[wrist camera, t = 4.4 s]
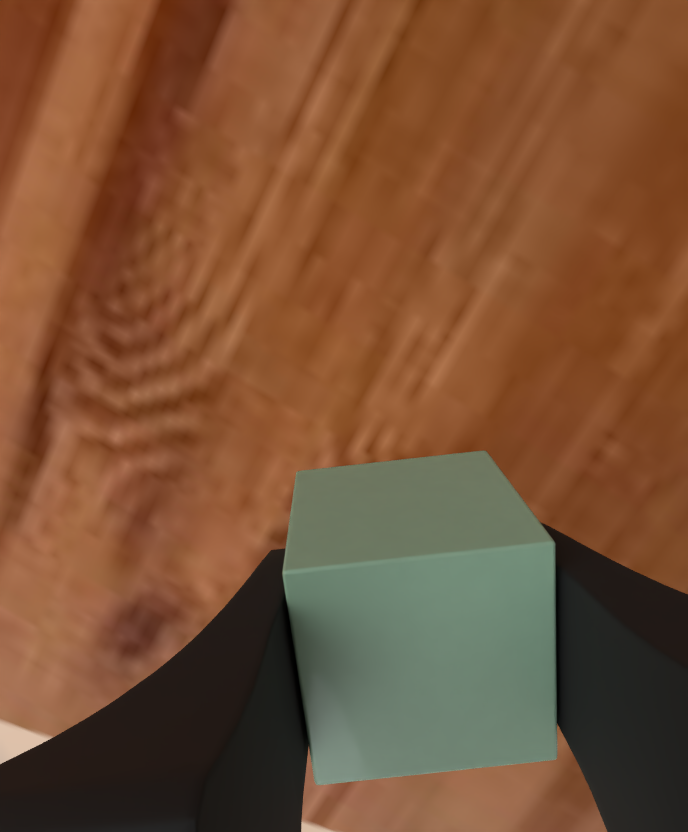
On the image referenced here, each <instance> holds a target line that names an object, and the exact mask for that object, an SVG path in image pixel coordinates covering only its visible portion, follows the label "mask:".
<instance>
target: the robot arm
mask: <svg viewBox="0 0 688 832" xmlns="http://www.w3.org/2000/svg"><path fill="white" fill-rule="evenodd" d="M541 524H542V526H543V527H544V528H545V530H546V531H547V532H548V534H549V535H550V536H551V538H552V539H553V540H554V542H555V557H556V670H557V724H558V726H559V727H560V729H561V731H562V733H563V735H564V737H565V739H566V741H567V743H568V745H569V747H570V749H571V751H572V752H573V754H574V756H575V758H576V760H577V762H578V764H579V766H580V768H581V770H582V772H583V775H584V777H585V779H586V781H587V783H588V785H589V787H590V790H591V792H592V794H593V797H594V799H595V802H596V804H597V807H598V809H599V812H600V814H601V817H602V819H603V822H604V824H605V827H606V829H607V832H688V595H687V594H685V593H682V592H680V591H677V590H675V589H673V588H670V587H668V586H665V585H663V584H661V583H659V582H657V581H655V580H652V579H650V578H648V577H646V576H644V575H641V574H639V573H637V572H635V571H633V570H631V569H629V568H627V567H625V566H623V565H621V564H619V563H617V562H615V561H613V560H611V559H609V558H607V557H605V556H603V555H601V554H599V553H597V552H595V551H594V550H592V549H590V548H588V547H586V546H584V545H582V544H581V543H579V542H577V541H575V540H573V539H572V538H570V537H568V536H566V535H564V534H562V533H560V532H559V531H557V530H555V529H553V528H551V527H549V526H547V525H545V524H543V523H541ZM285 550H286V549H278V550H271V551H270V552H269V553H268V555H267V556H266V557H265V558H264V559H263V560H262V562H261V563H260V564H259V566H258V567H257V568H256V569H255V571H254V572H253V573H252V575H251V576H250V577H249V578H248V580H247V581H246V582H245V583H244V585H243V586H242V587H241V588H240V589H239V591H238V592H237V593H236V594H235V595H234V597H233V598H232V599H231V600H230V601H229V602H228V604H227V605H226V606H225V607H224V608H223V609H222V610H221V611H220V612H219V613H218V615H217V616H216V617H215V618H214V619H213V620H212V621H211V622H210V623H209V624H208V625H207V626H206V627H205V628H204V629H203V630H202V631H201V632H200V633H199V634H198V635H197V636H196V637H195V638H194V639H193V640H192V641H191V642H190V643H189V644H188V645H186V646H185V647H184V648H183V649H182V650H181V651H180V652H178V653H177V654H176V655H175V656H174V657H172V658H171V659H170V660H169V661H168V662H167V663H165V664H164V665H163V666H162V667H160V668H159V669H158V670H157V671H155V672H154V673H153V674H151V675H150V676H148V677H147V678H146V679H144V680H143V681H141V682H140V683H139V684H137V685H136V686H134V687H133V688H132V689H130V690H129V691H127V692H126V693H125V694H123V695H122V696H120V697H119V698H118V699H116V700H115V701H113V702H112V703H110V704H109V705H107V706H106V707H104V708H102V709H101V710H99V711H98V712H96V713H94V714H93V715H91V716H90V717H88V718H86V719H85V720H83V721H81V722H80V723H78V724H76V725H74V726H73V727H71V728H69V729H67V730H66V731H64V732H62V733H61V734H59V735H57V736H55V737H53V738H51V739H50V740H48V741H46V742H44V743H42V744H40V745H38V746H36V747H34V748H32V749H30V750H28V751H26V752H24V753H22V754H20V755H18V756H16V757H14V758H12V759H10V760H8V761H6V762H4V763H2V764H0V832H301V819H302V804H303V791H304V782H305V773H306V764H307V755H308V746H309V743H308V736H307V730H306V723H305V717H304V711H303V704H302V698H301V691H300V685H299V678H298V672H297V666H296V659H295V653H294V646H293V640H292V633H291V627H290V621H289V614H288V608H287V601H286V595H285V588H284V582H283V576H282V572H283V564H284V557H285Z"/></svg>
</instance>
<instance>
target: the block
mask: <svg viewBox="0 0 688 832" xmlns="http://www.w3.org/2000/svg"><path fill="white" fill-rule="evenodd" d="M282 576H283V582H284V588H285V595H286V601H287V608H288V614H289V621H290V627H291V633H292V640H293V646H294V653H295V659H296V666H297V672H298V678H299V685H300V691H301V698H302V704H303V711H304V717H305V723H306V730H307V736H308V743H309V749H310V755H311V762H312V768H313V775H314V781H315V783H316V784H317V785H324V784H333V783H343V782H352V781H362V780H371V779H380V778H390V777H399V776H408V775H418V774H427V773H436V772H446V771H455V770H464V769H474V768H483V767H492V766H502V765H511V764H520V763H530V762H539V761H548V760H555V759H557V670H556V557H555V542H554V540H553V539H552V538H551V536H550V535H549V534H548V532H547V531H546V530H545V528H544V527H543V526H542V524H541V523H540V522H539V520H538V519H537V518H536V516H535V515H534V514H533V512H532V511H531V510H530V508H529V507H528V506H527V504H526V503H525V502H524V500H523V499H522V498H521V496H520V495H519V494H518V492H517V491H516V490H515V489H514V487H513V486H512V485H511V483H510V482H509V481H508V479H507V478H506V477H505V475H504V474H503V473H502V471H501V470H500V469H499V467H498V466H497V465H496V463H495V462H494V461H493V459H492V458H491V457H490V455H489V454H488V453H487V451H476V452H467V453H458V454H449V455H439V456H430V457H421V458H412V459H403V460H394V461H385V462H376V463H367V464H358V465H349V466H340V467H331V468H322V469H313V470H304V471H298V472H297V473H296V478H295V485H294V493H293V500H292V507H291V514H290V521H289V528H288V536H287V543H286V550H285V557H284V564H283V572H282Z"/></svg>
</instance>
